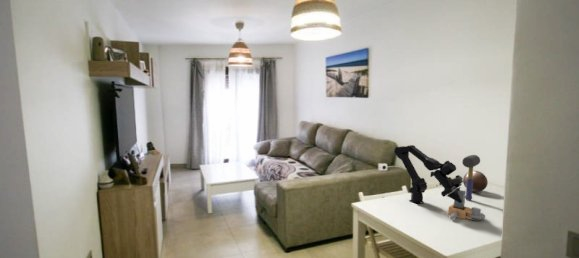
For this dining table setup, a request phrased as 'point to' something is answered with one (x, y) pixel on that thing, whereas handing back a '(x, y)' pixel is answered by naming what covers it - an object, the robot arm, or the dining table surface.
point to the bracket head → (466, 213)
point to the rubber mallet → (470, 173)
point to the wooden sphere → (477, 181)
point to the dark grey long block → (462, 197)
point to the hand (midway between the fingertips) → (462, 201)
